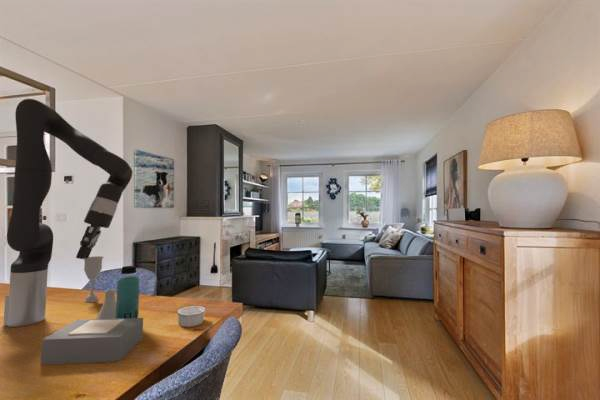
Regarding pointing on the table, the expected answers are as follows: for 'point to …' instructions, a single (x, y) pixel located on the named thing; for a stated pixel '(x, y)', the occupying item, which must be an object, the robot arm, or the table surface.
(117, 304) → the beverage bottle
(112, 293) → the flask
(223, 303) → the table surface
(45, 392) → the table surface
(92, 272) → the chalice
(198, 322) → the ramekin
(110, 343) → the stand
